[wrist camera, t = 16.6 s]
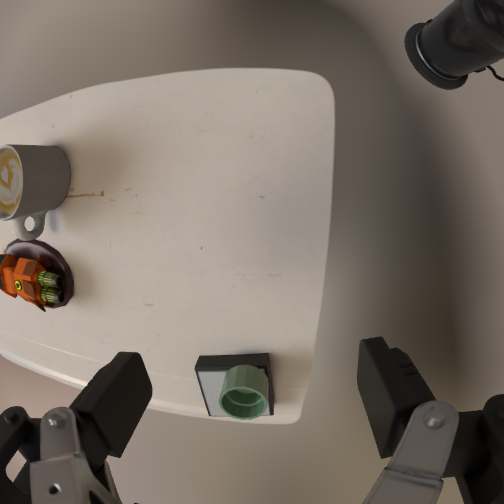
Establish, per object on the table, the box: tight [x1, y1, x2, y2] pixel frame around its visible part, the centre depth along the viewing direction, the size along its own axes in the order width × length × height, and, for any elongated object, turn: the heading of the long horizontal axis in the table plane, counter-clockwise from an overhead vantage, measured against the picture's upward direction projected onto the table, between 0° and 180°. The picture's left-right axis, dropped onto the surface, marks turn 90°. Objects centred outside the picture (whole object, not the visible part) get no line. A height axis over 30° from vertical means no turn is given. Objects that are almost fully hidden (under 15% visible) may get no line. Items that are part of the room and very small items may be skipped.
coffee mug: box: [0, 145, 70, 241], centre depth 30 cm, size 13×10×10 cm
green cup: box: [218, 365, 269, 420], centre depth 34 cm, size 6×6×5 cm
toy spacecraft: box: [0, 239, 73, 312], centre depth 36 cm, size 12×20×6 cm, turn 86°
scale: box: [195, 353, 274, 416], centre depth 39 cm, size 10×10×3 cm
